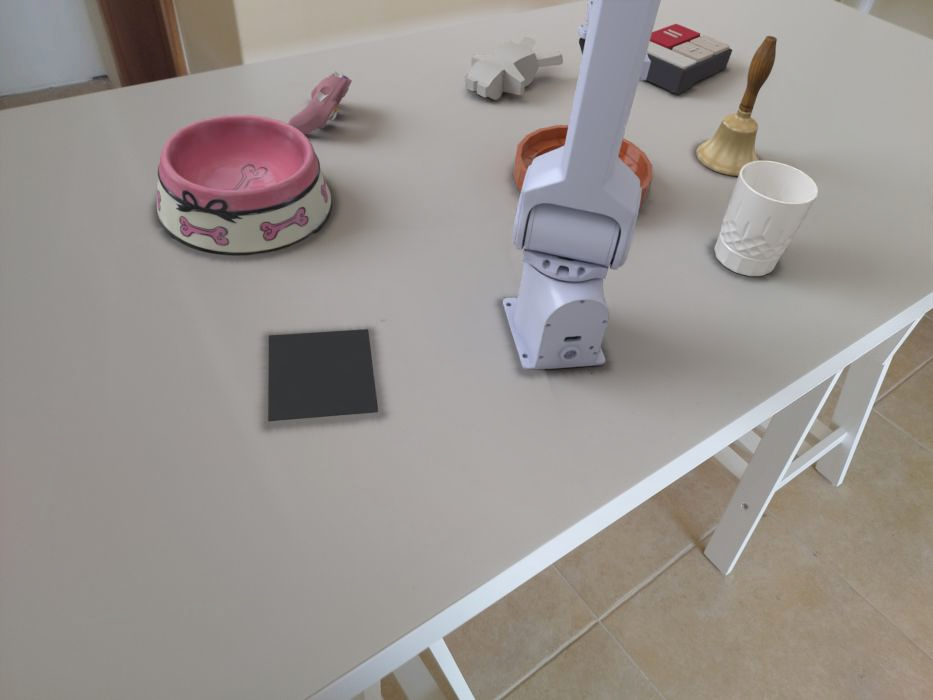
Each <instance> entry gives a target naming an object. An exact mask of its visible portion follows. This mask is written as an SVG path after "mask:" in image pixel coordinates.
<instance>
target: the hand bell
mask: <svg viewBox="0 0 933 700" xmlns="http://www.w3.org/2000/svg"><path fill="white" fill-rule="evenodd" d="M777 41H778V38H777V37H775V36H772V35H767V36H765V38H764V40H763V41H762V43H761V44H760V46H759V47H758V48H757V49H756V51H755V53H754V54H753V56H752V59H751V62H750V63H749V67H748V72H747V81H746V88H745V91H744V93H743V96H742V99H741V100H740V103H739V105H738V110H737V112H736V113H730V114H727V115H725V116H724V118H722V120H721V123H720V124H719V126H718V128H717V130H716V132H715V133H714V134H713V135H712V137H710V138H709V139H707V140H705V141H704V142H701V144H700V145H699V146H698V147H697V148H696V150H695V155H696V159H698V161H699V162H700V163H701V164H702V165H703V166H705V167H706V168H708V169H710V170H712V171H714V172H716V173H718V174H722V175H727V176H731V177H732V176H733V177H738V176H739V173H740V170H741V168H742V167H743V166H744V165H745V164H747V163H750V162H753V161H760V158H759V155H758V153H757V152H756V147H755V145H756V140H757V139H756V138H757V133H758V130H759V124H758V123H757V121H756V120H755V119H754V118H753V117H752V114H753V110H754V106H755V105H756V100H757V97H758V95H759V92H760V90H761V88H762V87H763V86H764V84H765V83H766V81H767V80H768V78H769V77H770V74H771V72H772V70H773V67H774V65H775V61H776V56H777V55H776V54H777V52H776V51H777Z"/></svg>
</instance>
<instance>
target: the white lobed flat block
mask: <svg viewBox="0 0 933 700" xmlns="http://www.w3.org/2000/svg"><path fill="white" fill-rule="evenodd" d="M535 45H536V40H534V38H532V37H529V36H526V37H523V38H522V39H521V41H520V42H519V43H517V42H514V41H511V40H508V41H505V42H503V43H501V44H500V45H499V46H497V47H496V49H495V51H494V53H489V54H488V53H485V54H484V53H483V54H482V53H475V54H473V55H472V56H471V69H470V70H469V72H468V74H467V75H466V76H465V77H464V87H465V88H466V89H467V90H470V91H472V92H476V94H477V95H479V96H481V97H482V98H486V99H487V98H489V99H491V100H496V101H497V100H499V99H500V98H501V97H502V95H503V93H508V94H513V95H518V96H521V95H525V88H526V87H527V86H529V85H530V84H531V83H532V82H533V81H534V79H535V77H536V75H537V74H538V71H539V69H540V68H542V67H553V66H560V65H563V63H564V58H563V53H562V52H561V51H560V50H550V51H546V52H542V53H539V54H536V53H535V52H534V51H533V50H532V49H533V47H535Z"/></svg>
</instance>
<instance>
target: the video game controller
mask: <svg viewBox="0 0 933 700" xmlns="http://www.w3.org/2000/svg"><path fill="white" fill-rule="evenodd" d="M352 81H353V80H352V79H350V78H349V76H346V75H344V74H342V73H341V74H339V73H338V72H337V71H335V72H334V73H332V74H330V75H328V76H327V77H324V78H323V79H322V80H321V81H319V83H318V84H317V85H316V86H315V87H314V88H313V89H312V90H311V93H310V97H311V100H310V102H309V104H308V105H307V106H306V107H305V108H303V109H302V110H301V111H299V112H298V113H296V114H295V115H293V116H292V117H291V118H290V119H289V121H288V123H287V124H289V125H291V126H293V127H295V128H296V129H298V130H299V131H301V132H302V133H303V134H304V135H307V134H310V133H312V132H314V131H316V130H317V129H318V128H319V129H321V130H323V129H324V127H325V126H326V124H327V123H328V121H329V120H330V121H331V122H333V121H334V120H335V119H336V117H337V114H338V112H339V108H338V106H339V105H340V103H341V101H343V98H345V97H346V95H347V94H348V92H349V88H350V86H351V84H352Z"/></svg>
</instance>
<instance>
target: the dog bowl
mask: <svg viewBox="0 0 933 700" xmlns="http://www.w3.org/2000/svg"><path fill="white" fill-rule="evenodd" d="M157 176H158V177H157V188H156V216H157V220H158V222H159V224H160V225H161V227H162V229H163V231H165V232H166V233H167V234H168V235H169V236H170V237H171V238H172V239H173V240H175V241H177V242H178V243H181V244H182V245H184V246H186V247H188V248H191V249H194V250H197V251H200V252H203V253H208V254H212V255H213V254H214V255H221V256H238V257H239V256H252V255H259V254H266V253H271V252H275V251H279V250H283V249H287V248H289V247H291V246H293V245H296V244H297V243H300V242H302V241H304V240H305V239H307V238H309V237H310V236H312V235H313V234H317V232H318V231H320V229H321V228H322V227H323V226H324V225H325V223H326V222H327V221H328V220H329V217H330V215H331V212H332V210H333V209H332V208H333V196H332V194H331V193H332V192H331V190H330V188H329V186H328V184H327V181H326V179H325V176H324V174H323V170H322V168H321V163H320V159H319V157H318V155H317V153H316V151H315V149H314V147H313V145H312V143H311V140H310V139H309V138H308V137H307V136H306V134H303V133H302V132H301V131H299V130H298V129H296V128H295V127H293V126H291V125H289V124H288V123H287V122H284V121H282V120H280V119H275V118H271V117H267V116H260V115H249V114H230V115H229V114H228V115H221V116H215V117H214V116H213V117H209V118H205V119H201V120H197V121H195V122H192V123H189V124H188V125H185V126H183V127H182V128H180V129H178V130H177V131H176V132H174V133H173V134H172V135H170V137H169V138H168V139H167V141H166V142H165V143H164V145H163V146H162V149H161V153H160V157H159V163H158V166H157Z"/></svg>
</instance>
